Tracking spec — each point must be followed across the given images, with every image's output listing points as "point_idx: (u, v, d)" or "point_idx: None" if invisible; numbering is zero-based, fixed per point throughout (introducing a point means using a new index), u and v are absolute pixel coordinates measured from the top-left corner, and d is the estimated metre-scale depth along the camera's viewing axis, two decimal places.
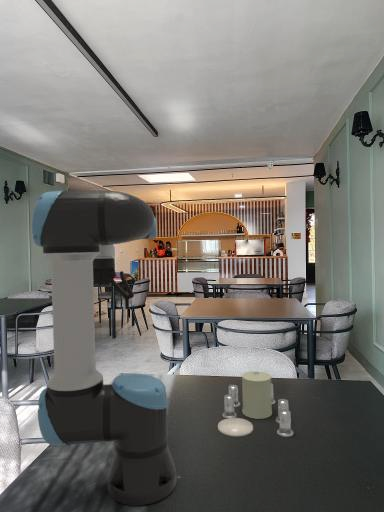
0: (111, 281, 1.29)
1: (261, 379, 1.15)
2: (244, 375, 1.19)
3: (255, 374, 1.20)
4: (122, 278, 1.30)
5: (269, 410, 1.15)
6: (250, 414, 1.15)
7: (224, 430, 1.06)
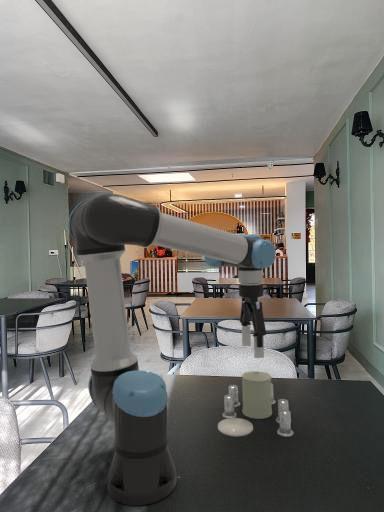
0: (248, 311, 1.15)
1: (261, 379, 1.15)
2: (244, 375, 1.19)
3: (255, 374, 1.20)
4: (253, 310, 1.12)
5: (269, 410, 1.15)
6: (250, 414, 1.15)
7: (224, 430, 1.06)
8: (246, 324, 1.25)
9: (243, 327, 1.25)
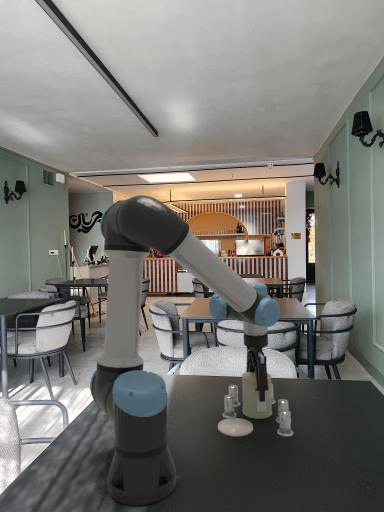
0: (252, 362, 1.16)
1: None
2: (244, 375, 1.19)
3: (255, 374, 1.20)
4: (257, 364, 1.12)
5: (269, 410, 1.15)
6: (250, 414, 1.15)
7: (224, 430, 1.06)
8: None
9: None
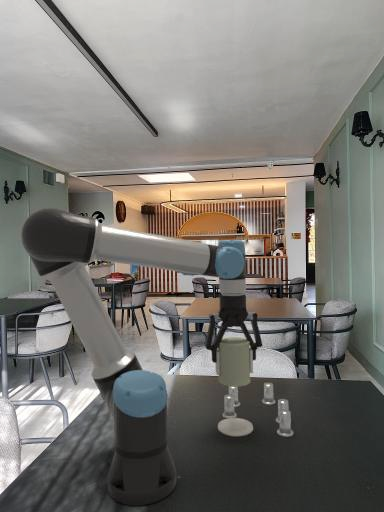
0: (242, 324, 1.06)
1: (243, 340, 1.09)
2: (231, 344, 1.04)
3: (227, 341, 1.08)
4: (254, 321, 1.07)
5: None
6: (248, 380, 1.06)
7: (224, 430, 1.06)
8: None
9: (218, 352, 1.07)
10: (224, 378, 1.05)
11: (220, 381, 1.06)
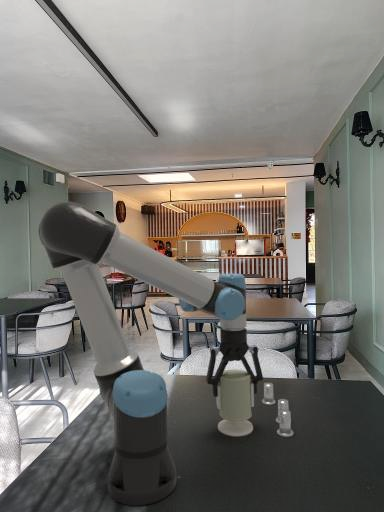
0: (243, 358, 1.07)
1: (244, 373, 1.09)
2: (232, 379, 1.05)
3: (228, 375, 1.08)
4: (255, 355, 1.08)
5: None
6: (249, 414, 1.06)
7: (224, 430, 1.06)
8: None
9: (219, 386, 1.07)
10: (225, 412, 1.05)
11: (221, 415, 1.07)
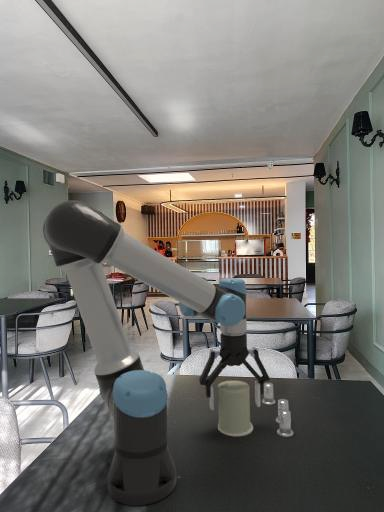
0: (244, 362, 1.07)
1: (243, 384, 1.09)
2: (232, 391, 1.05)
3: (228, 386, 1.08)
4: (257, 358, 1.08)
5: None
6: (248, 426, 1.06)
7: None
8: None
9: (212, 387, 1.07)
10: (224, 424, 1.05)
11: (220, 427, 1.07)
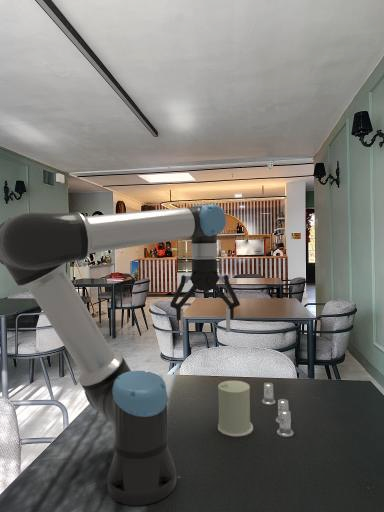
0: (214, 286, 1.09)
1: (243, 384, 1.09)
2: (232, 391, 1.05)
3: (228, 386, 1.08)
4: (227, 283, 1.10)
5: None
6: (248, 426, 1.06)
7: None
8: None
9: (182, 310, 1.09)
10: (224, 424, 1.05)
11: (220, 427, 1.07)
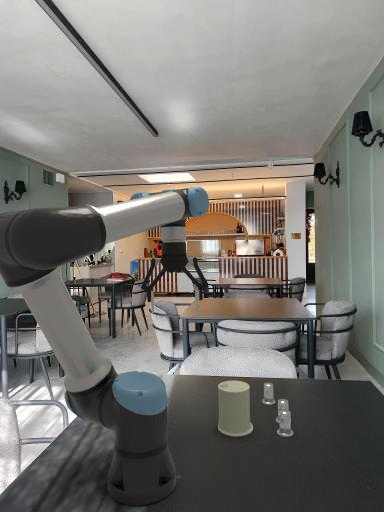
0: (184, 268, 1.12)
1: (243, 384, 1.09)
2: (232, 391, 1.05)
3: (228, 386, 1.08)
4: (196, 265, 1.13)
5: None
6: (248, 426, 1.06)
7: None
8: None
9: None
10: (224, 424, 1.05)
11: (220, 427, 1.07)
